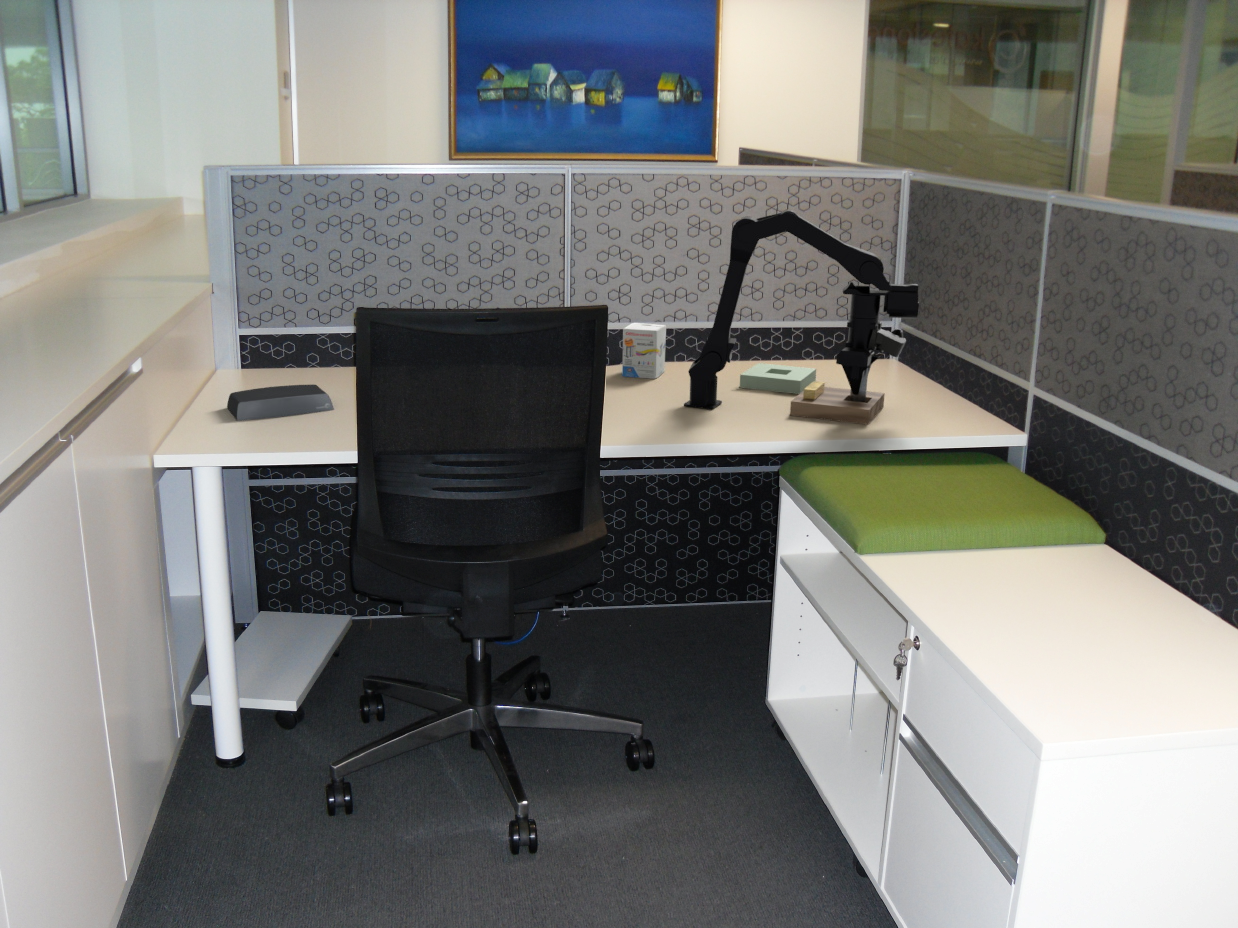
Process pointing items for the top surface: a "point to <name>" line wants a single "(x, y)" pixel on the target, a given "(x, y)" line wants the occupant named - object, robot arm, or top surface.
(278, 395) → the external hard drive
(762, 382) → the green slotted base
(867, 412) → the socket block
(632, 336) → the ink box
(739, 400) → the top surface
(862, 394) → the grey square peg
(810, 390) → the yellow wooden bar
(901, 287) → the robot arm
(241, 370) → the top surface
